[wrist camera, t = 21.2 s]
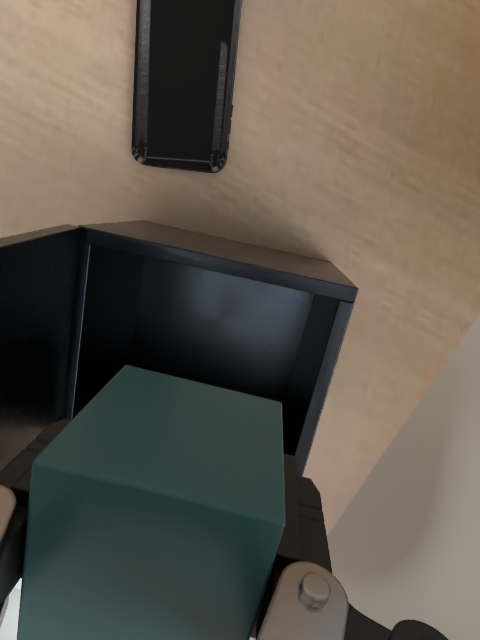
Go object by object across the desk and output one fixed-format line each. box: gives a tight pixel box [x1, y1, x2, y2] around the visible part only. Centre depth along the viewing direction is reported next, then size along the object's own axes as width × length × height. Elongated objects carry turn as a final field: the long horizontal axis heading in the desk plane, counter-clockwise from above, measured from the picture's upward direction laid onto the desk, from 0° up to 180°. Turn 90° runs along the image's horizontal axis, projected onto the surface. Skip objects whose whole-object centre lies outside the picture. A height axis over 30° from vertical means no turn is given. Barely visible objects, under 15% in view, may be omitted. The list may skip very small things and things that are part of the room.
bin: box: [62, 221, 358, 477], centre depth 31 cm, size 17×14×12 cm
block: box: [17, 365, 286, 640], centre depth 10 cm, size 4×4×4 cm
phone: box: [132, 0, 242, 173], centre depth 31 cm, size 8×1×15 cm
